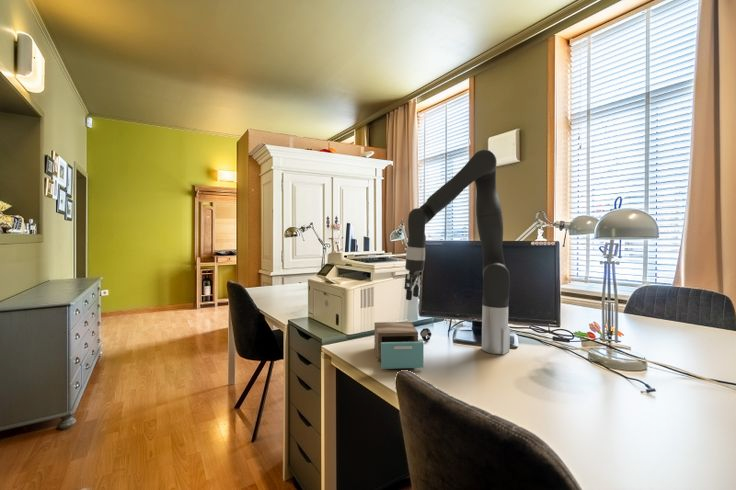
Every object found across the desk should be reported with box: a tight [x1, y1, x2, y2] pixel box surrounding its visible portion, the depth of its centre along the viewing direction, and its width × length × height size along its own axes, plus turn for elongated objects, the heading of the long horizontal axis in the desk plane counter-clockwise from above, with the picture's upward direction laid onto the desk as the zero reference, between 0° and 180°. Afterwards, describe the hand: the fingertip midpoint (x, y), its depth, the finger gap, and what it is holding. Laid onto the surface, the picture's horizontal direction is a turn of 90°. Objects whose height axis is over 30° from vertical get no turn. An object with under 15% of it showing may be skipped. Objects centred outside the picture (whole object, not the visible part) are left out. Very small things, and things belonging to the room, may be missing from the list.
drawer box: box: [373, 321, 419, 362], centre depth 132 cm, size 14×14×10 cm
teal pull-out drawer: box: [380, 341, 425, 370], centre depth 122 cm, size 14×14×8 cm
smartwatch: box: [419, 327, 432, 342], centre depth 148 cm, size 4×5×5 cm
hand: (412, 298), depth 145 cm, fingers open, 8 cm apart
